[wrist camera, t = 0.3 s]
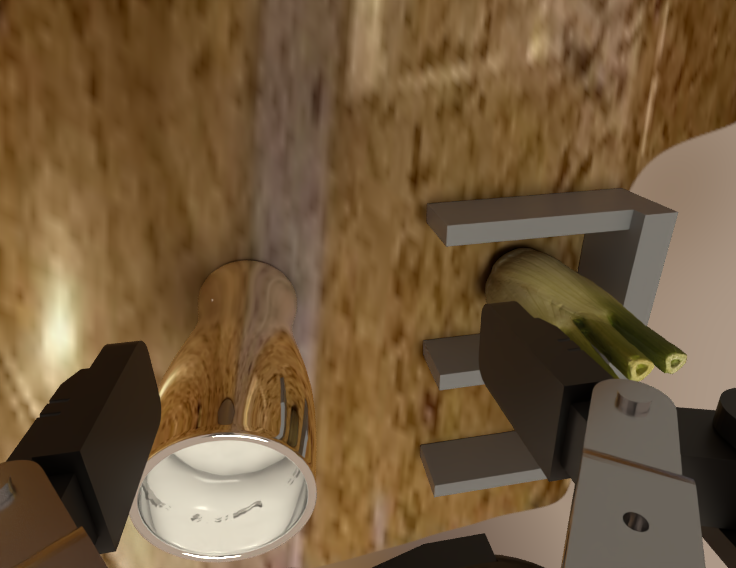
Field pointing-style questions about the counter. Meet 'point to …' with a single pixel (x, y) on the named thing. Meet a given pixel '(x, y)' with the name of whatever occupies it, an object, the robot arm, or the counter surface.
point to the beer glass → (232, 426)
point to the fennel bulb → (581, 313)
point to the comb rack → (597, 263)
